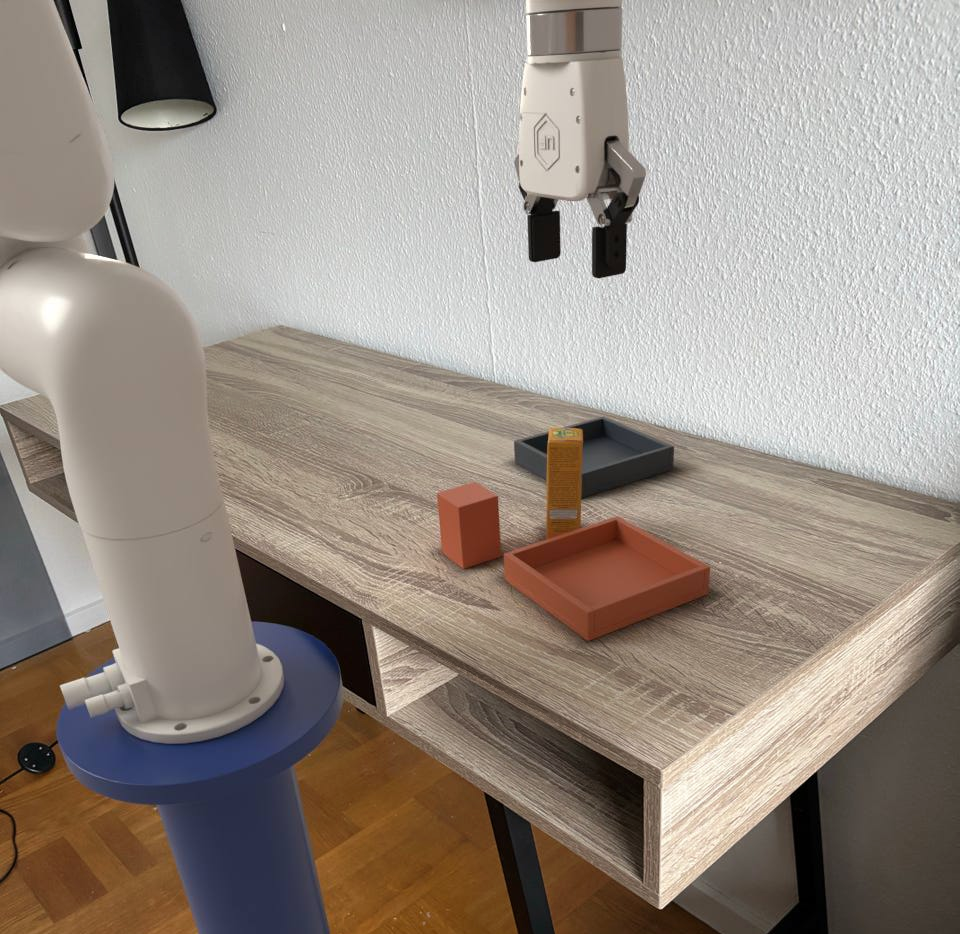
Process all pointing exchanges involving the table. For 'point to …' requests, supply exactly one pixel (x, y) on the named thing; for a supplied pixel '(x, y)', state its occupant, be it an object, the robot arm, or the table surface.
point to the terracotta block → (469, 524)
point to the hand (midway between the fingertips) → (575, 267)
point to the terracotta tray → (605, 576)
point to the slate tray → (603, 455)
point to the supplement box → (563, 481)
